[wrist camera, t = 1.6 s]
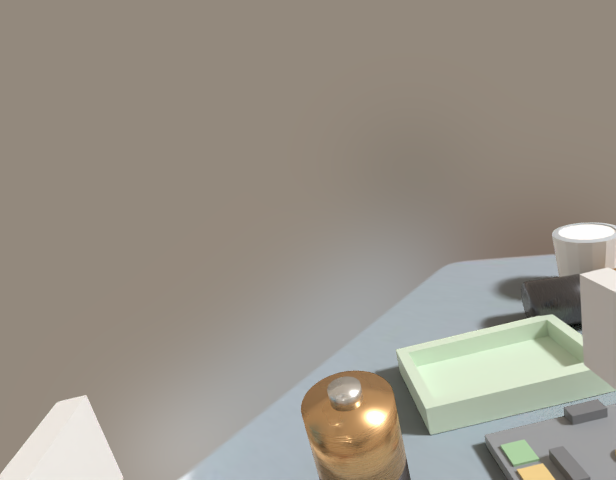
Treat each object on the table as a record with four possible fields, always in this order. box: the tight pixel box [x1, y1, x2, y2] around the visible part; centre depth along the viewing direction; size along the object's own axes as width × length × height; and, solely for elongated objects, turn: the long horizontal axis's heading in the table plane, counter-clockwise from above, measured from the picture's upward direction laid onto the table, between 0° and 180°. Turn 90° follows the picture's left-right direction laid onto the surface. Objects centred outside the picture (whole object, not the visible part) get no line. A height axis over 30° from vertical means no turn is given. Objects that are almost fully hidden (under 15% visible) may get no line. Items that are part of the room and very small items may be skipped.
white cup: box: [552, 223, 616, 277], centre depth 49 cm, size 7×7×7 cm
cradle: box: [485, 399, 616, 480], centre depth 27 cm, size 12×9×2 cm
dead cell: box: [521, 268, 616, 325], centre depth 43 cm, size 13×5×5 cm, turn 84°
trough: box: [396, 314, 616, 435], centre depth 38 cm, size 16×9×3 cm, turn 94°
